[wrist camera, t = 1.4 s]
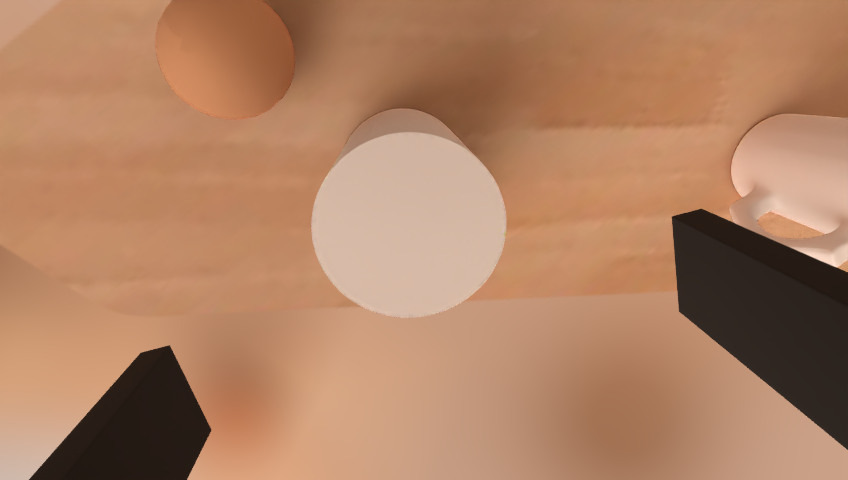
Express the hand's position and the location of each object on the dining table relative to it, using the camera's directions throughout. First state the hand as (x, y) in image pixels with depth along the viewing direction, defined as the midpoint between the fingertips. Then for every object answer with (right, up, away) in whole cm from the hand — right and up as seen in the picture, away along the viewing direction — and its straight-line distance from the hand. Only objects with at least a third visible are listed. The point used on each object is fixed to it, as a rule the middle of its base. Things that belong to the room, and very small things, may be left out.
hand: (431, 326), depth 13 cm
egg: (-10, +13, +16) cm, 24 cm away
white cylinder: (-2, +7, +19) cm, 20 cm away
